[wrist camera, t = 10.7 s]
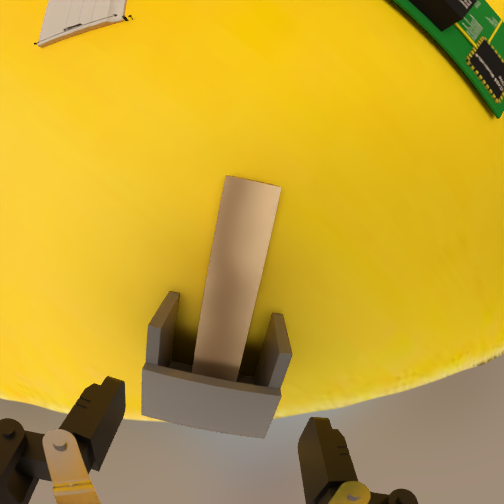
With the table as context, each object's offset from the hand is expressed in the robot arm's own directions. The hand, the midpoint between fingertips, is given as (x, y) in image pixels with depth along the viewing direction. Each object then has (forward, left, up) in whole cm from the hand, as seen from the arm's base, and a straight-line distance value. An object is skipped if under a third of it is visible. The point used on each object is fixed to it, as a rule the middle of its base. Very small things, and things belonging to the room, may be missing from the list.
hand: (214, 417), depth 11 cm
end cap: (0, +7, -17) cm, 18 cm away
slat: (0, 0, -17) cm, 17 cm away
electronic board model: (-15, -38, -17) cm, 44 cm away
